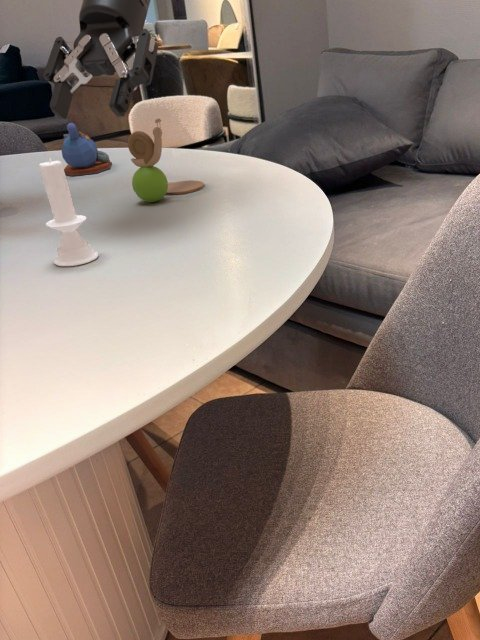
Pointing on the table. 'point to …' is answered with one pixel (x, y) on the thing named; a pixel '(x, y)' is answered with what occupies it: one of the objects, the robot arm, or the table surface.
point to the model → (82, 154)
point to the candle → (65, 217)
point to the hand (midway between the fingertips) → (86, 113)
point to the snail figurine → (148, 165)
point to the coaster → (184, 187)
